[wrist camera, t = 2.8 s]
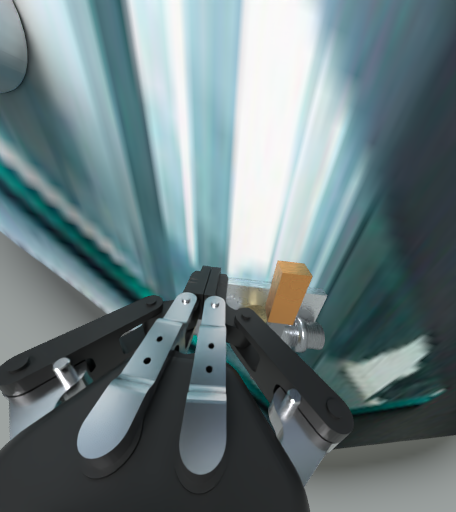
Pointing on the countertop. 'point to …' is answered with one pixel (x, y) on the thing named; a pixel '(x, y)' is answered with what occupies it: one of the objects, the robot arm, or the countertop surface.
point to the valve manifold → (295, 335)
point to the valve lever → (286, 294)
